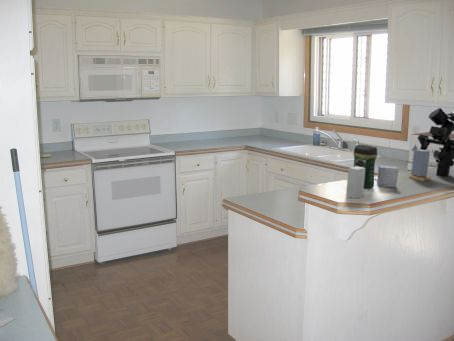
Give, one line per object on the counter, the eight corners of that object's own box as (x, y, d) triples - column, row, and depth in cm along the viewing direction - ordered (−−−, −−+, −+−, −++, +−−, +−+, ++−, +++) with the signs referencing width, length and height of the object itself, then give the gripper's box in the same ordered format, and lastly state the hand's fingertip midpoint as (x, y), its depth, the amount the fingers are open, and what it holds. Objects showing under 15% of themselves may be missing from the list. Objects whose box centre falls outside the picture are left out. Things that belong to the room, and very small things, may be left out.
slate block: (418, 174, 238) (421, 149, 236) (426, 175, 234) (429, 151, 232) (411, 174, 235) (414, 149, 233) (419, 176, 231) (422, 151, 229)
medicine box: (394, 185, 222) (396, 166, 220) (396, 187, 218) (398, 168, 216) (376, 184, 223) (378, 165, 221) (378, 186, 219) (380, 167, 217)
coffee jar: (376, 187, 216) (381, 146, 212) (366, 190, 211) (371, 147, 207) (357, 183, 223) (361, 142, 219) (347, 185, 217) (351, 144, 213)
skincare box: (354, 194, 204) (357, 165, 201) (362, 196, 201) (366, 167, 198) (345, 196, 200) (348, 167, 197) (354, 198, 197) (357, 169, 194)
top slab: (417, 176, 240) (417, 173, 239) (430, 179, 234) (430, 176, 234) (408, 178, 235) (409, 174, 235) (422, 181, 230) (422, 177, 230)
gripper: (422, 118, 242) (406, 141, 238) (458, 123, 227) (442, 148, 223) (429, 133, 248) (413, 156, 244) (465, 138, 234) (449, 163, 230)
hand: (429, 155), depth 235 cm, fingers open, 9 cm apart
